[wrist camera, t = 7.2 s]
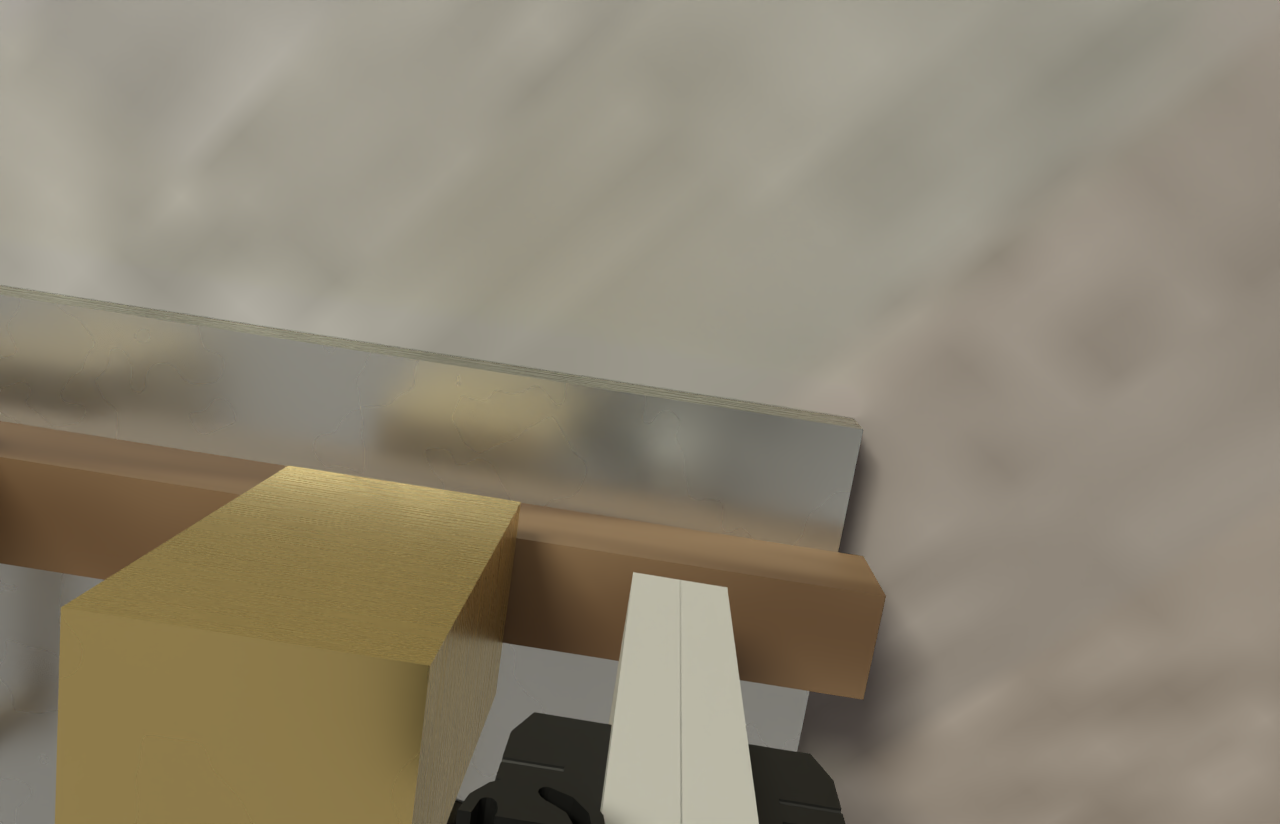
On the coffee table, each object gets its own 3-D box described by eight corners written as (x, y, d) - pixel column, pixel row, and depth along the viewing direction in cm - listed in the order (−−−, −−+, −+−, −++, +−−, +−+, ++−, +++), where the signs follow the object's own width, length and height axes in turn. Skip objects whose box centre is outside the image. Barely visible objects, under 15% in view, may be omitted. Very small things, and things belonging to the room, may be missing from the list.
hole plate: (-172, 259, 19) (-222, 260, 18) (853, 418, 19) (864, 429, 18) (-159, 823, 22) (-201, 853, 20) (742, 967, 21) (745, 1004, 20)
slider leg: (327, 441, 18) (59, 607, 10) (536, 474, 18) (429, 666, 10) (288, 890, 20) (40, 1317, 12) (476, 920, 20) (349, 1367, 12)
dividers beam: (-190, 351, 18) (-840, 446, 10) (871, 517, 18) (1020, 740, 10) (-178, 794, 20) (-717, 1156, 12) (780, 947, 20) (847, 1409, 12)
